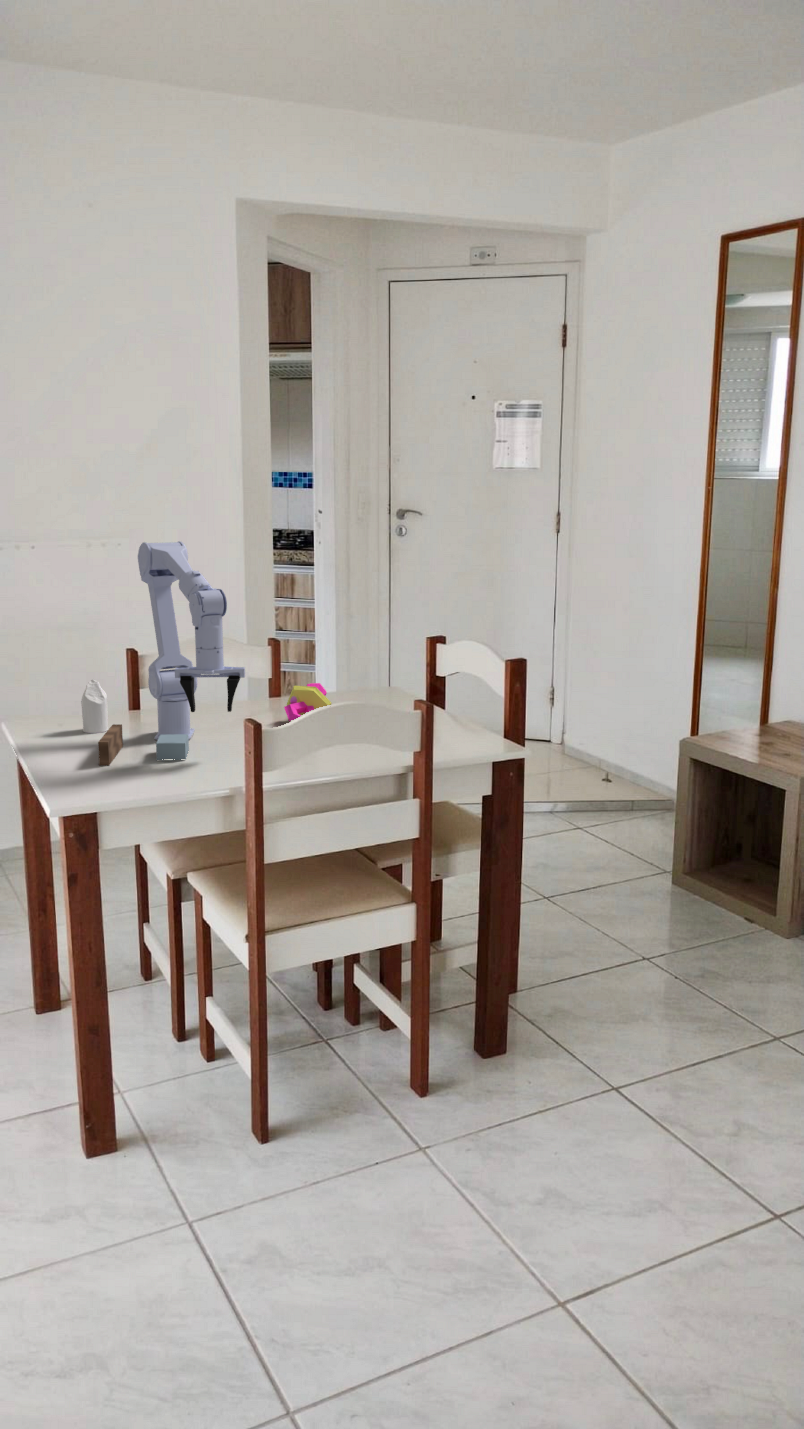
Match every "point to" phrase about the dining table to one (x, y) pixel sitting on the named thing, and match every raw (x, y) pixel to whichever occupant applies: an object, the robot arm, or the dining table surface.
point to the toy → (305, 700)
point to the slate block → (172, 746)
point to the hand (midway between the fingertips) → (211, 711)
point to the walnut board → (110, 744)
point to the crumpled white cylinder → (94, 708)
